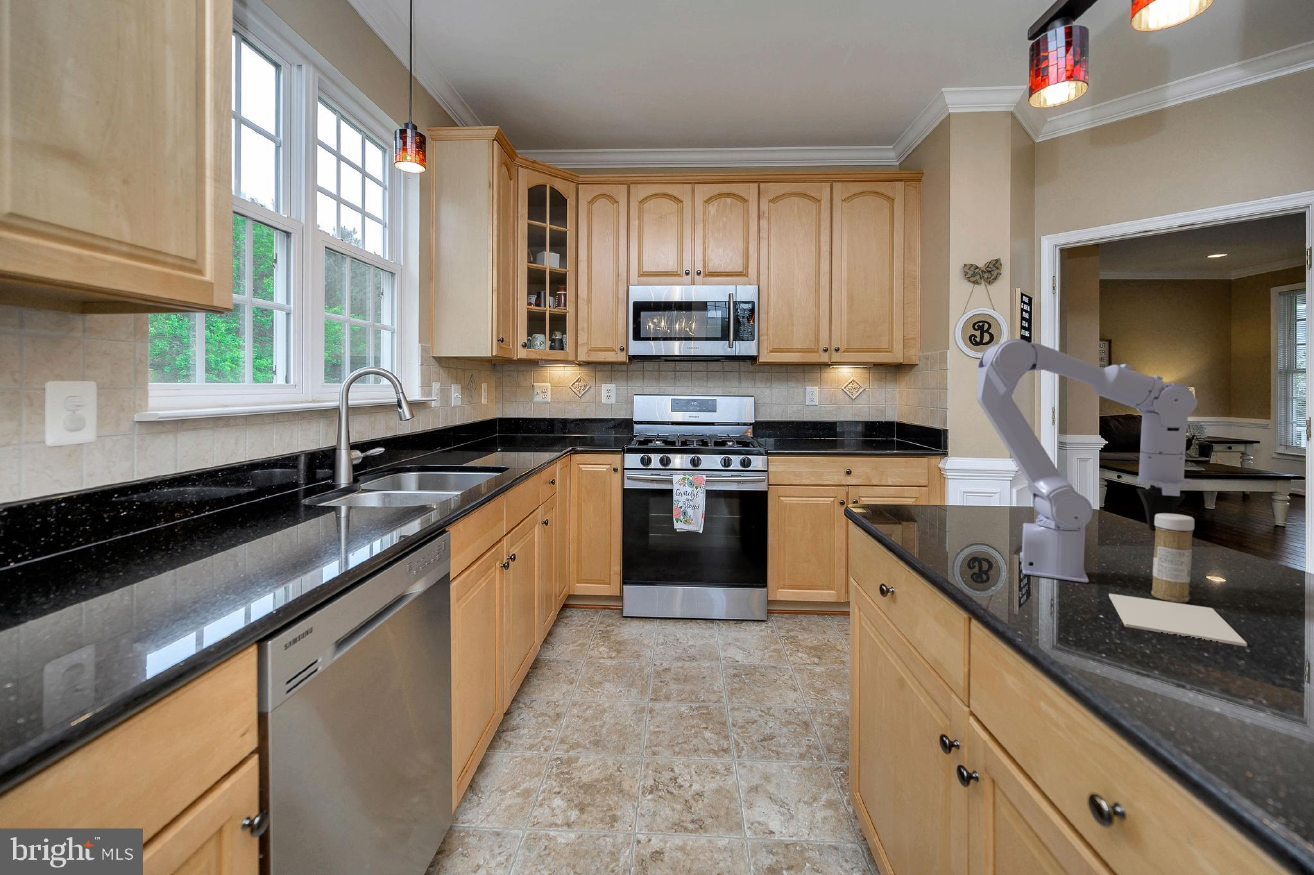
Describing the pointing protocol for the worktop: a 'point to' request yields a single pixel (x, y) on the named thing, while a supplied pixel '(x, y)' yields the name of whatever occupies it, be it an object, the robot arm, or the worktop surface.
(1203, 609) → the silicone mat
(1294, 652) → the worktop surface
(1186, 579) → the sprinkles bottle
